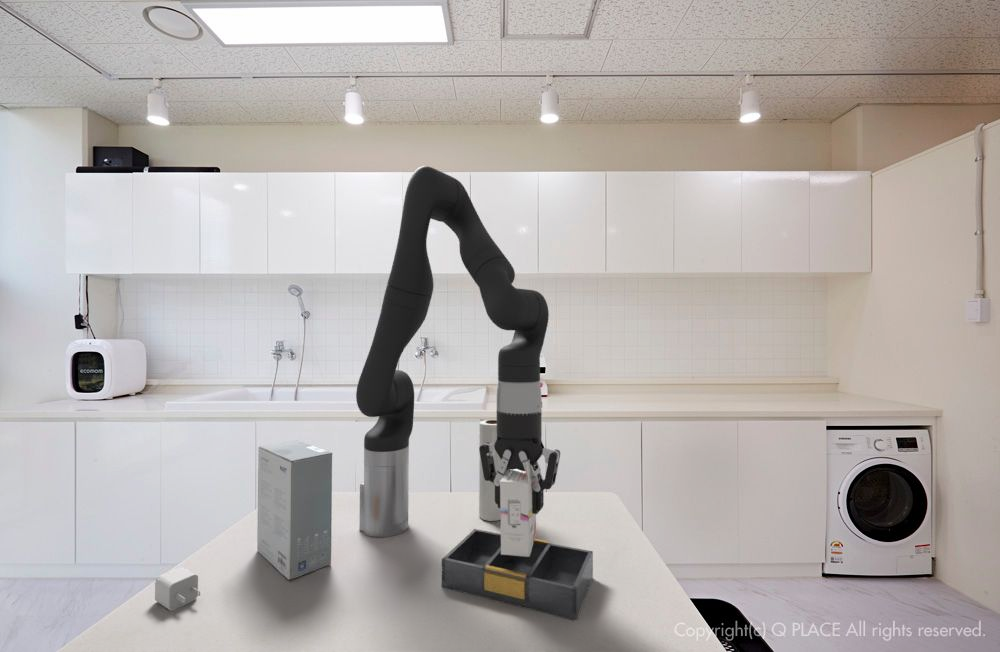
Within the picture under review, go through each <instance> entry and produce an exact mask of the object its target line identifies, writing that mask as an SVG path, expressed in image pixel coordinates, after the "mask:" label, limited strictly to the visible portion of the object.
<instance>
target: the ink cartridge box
mask: <svg viewBox="0 0 1000 652" xmlns="http://www.w3.org/2000/svg"><path fill="white" fill-rule="evenodd" d="M527 475H528V477H527ZM533 490H534V489H533V486H532V481H531V475H530V459H529V460H528V462H527V474H526V471H521V470H518V469H513V470H512V469H510V470H509V471H508V472H507V473H506V474H505V475H504V476H503V477H502V479H501V480H500V512H501V520H500V534H501V555H513V556H524V557H530V554H531V550H532V546H533V543H534V539H536V534H537V514H533V513H532V491H533Z"/></svg>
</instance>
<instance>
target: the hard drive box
mask: <svg viewBox="0 0 1000 652" xmlns="http://www.w3.org/2000/svg"><path fill="white" fill-rule="evenodd" d="M257 456H258V458H257V459H258V460H257V461H258V463H257V465H258V467H257V468H258V469H257V472H258V473H257V478H258V479H257V533H256V535H257V539H256V540H257V541H256V542H257V546H256V547H257V552H258V553H259V554H260V555H261V556H263V558H264V559H265V560H267V562H269V563H270V564H271V565H272V566H273V567H274V568H276V570H277V571H278V572H279V573H280V574H281V575H282V576H284V577H285V578H286V579H287V580H288V581H289V580H294V579H296V578H298V577H301V576H303V575H306V574H308V573H311V572H314V571H317V570H319V569H322V568H324V567H326V566H329V565H332V520H333V519H332V516H333V515H332V513H333V512H332V511H333V510H332V507H333V506H332V505H333V503H332V502H333V501H332V499H333V498H332V497H333V496H332V495H333V493H332V491H333V484H332V483H333V452H331V451H329V450H326V449H323V448H320V447H317V446H315V445H311V444H309V443H307V442H306V443H305V442H302V441H299V440H296V439H295V440H290V441H284V442H277V443H273V444H267V445H260V446H259V447H258V454H257Z"/></svg>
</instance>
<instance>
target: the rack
mask: <svg viewBox="0 0 1000 652" xmlns="http://www.w3.org/2000/svg"><path fill="white" fill-rule="evenodd" d="M593 556H594V551H592V550H587V549H582V548H578V547H577V548H576V547H570V546H566V545H560V544H556V543H550V542H549V540H543V539H537V538H535V539H534V543H533V546H532V550H531V554H530V557H524V556H513V555H501V533H498V532H492V531H487V530H483V529H476V528H474V529H473V530H471V532H470V533H468V534H467V535H466V536H465V538H463V539H462V540H460V542H459V543H458V544H457V545H456V546H454V547H453V548H452V549H451V550H450V551H449V552H448V553H447V554H446V555H444V556H443V557H442V559H441V588H446V589H449V590H454V591H458V592H460V593H465V594H469V595H473V596H477V597H479V598H485V599H489V600H492V601H497V602H500V603H505V604H508V605H512V606H516V607H517V606H518V607H520V608H524V609H528V610H532V611H536V612H540V613H545V614H548V615H552V616H556V617H559V616H560V617H561V618H563V619H564V618H565V619H568V620H573V621H575V620H576V621H577V620H578V618H579V615H580V613H581V610H582V607H583V605H584V603H585V599H586V597H587V594H588V592H589V588H590V586H591V585H592V582H593V578H594V570H593V569H594V562H593V561H594V559H593V558H594V557H593ZM579 612H580V613H579Z"/></svg>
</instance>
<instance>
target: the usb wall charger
mask: <svg viewBox="0 0 1000 652" xmlns="http://www.w3.org/2000/svg"><path fill="white" fill-rule="evenodd" d="M168 572H169V573H168ZM167 573H168V574H167ZM165 574H166V575H165ZM158 579H159V580H158ZM155 581H156V582H155ZM155 581H154V600H155V601H156V602H157V603H159V604H160V605H161V606H163V607H164V608H166V609H167V610H169V611H174V610H177V609H178V608H180V607H183V606H184V605H187V604H188V603H192V602H194V601H195V600H196V599H197V598H198V597H200V596H201V590H199V575H197V574H196V573H193V572H192V571H191V570H188V569H187V568H185V567H183V566H180V567H177V568H174V569H173V570H170V571H167V572H165V573H162V574H159V575H158V576H157V577H155Z"/></svg>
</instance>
